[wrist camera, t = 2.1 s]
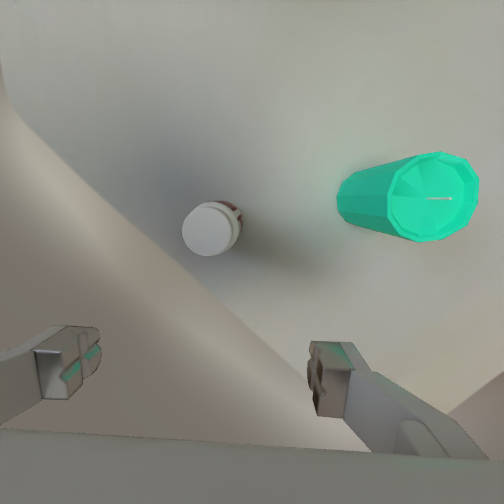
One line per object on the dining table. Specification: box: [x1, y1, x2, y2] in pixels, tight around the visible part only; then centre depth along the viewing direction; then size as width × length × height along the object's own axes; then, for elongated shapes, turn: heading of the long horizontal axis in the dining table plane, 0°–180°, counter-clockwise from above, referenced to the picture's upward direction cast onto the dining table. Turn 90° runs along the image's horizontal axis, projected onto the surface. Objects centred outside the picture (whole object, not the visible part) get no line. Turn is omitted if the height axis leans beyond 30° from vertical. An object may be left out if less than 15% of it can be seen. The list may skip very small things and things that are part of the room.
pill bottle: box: [182, 201, 243, 257], centre depth 23 cm, size 5×5×8 cm
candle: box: [337, 152, 479, 242], centre depth 20 cm, size 6×6×12 cm
